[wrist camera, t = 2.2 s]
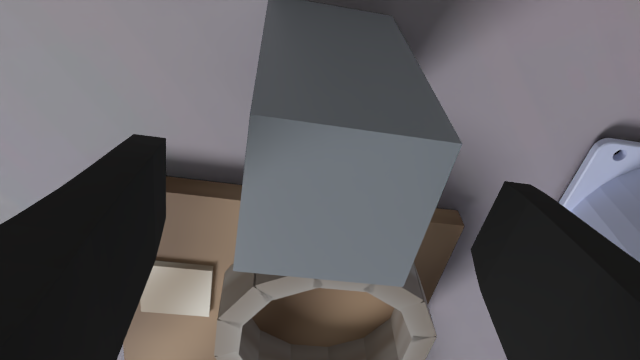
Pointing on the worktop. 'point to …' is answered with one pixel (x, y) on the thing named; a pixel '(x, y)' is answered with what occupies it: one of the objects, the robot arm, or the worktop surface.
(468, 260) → the worktop surface
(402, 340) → the socket board
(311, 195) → the plug
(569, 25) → the worktop surface
